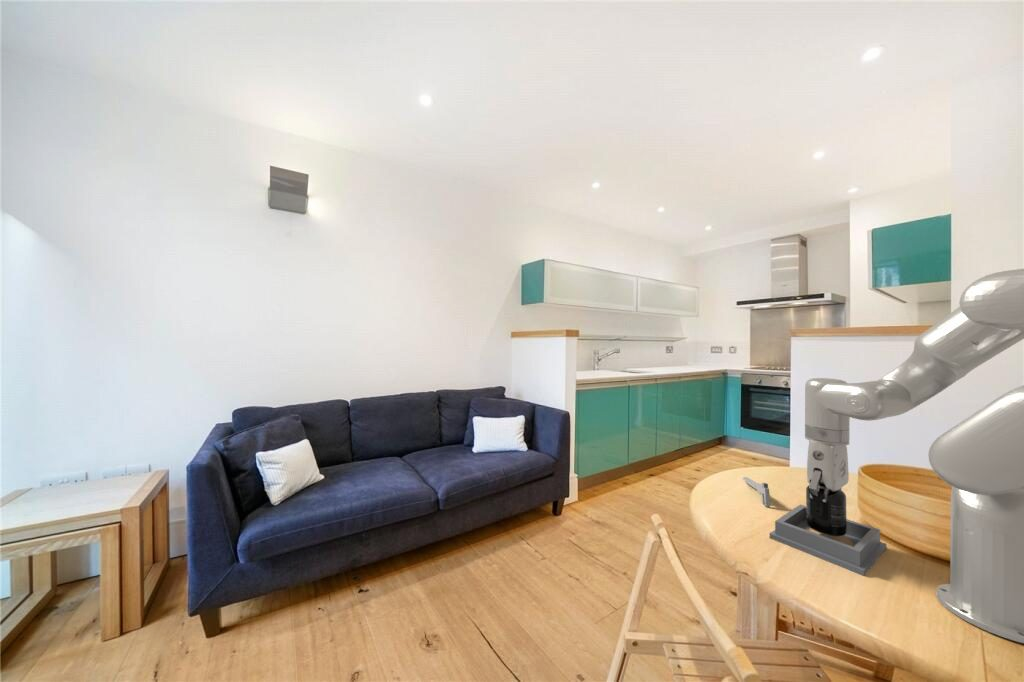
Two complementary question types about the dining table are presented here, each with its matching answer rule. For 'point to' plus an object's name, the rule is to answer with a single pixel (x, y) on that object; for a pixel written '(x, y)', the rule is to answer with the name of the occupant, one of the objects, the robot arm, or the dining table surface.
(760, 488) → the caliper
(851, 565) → the housing
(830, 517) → the supplement bottle
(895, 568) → the dining table surface
